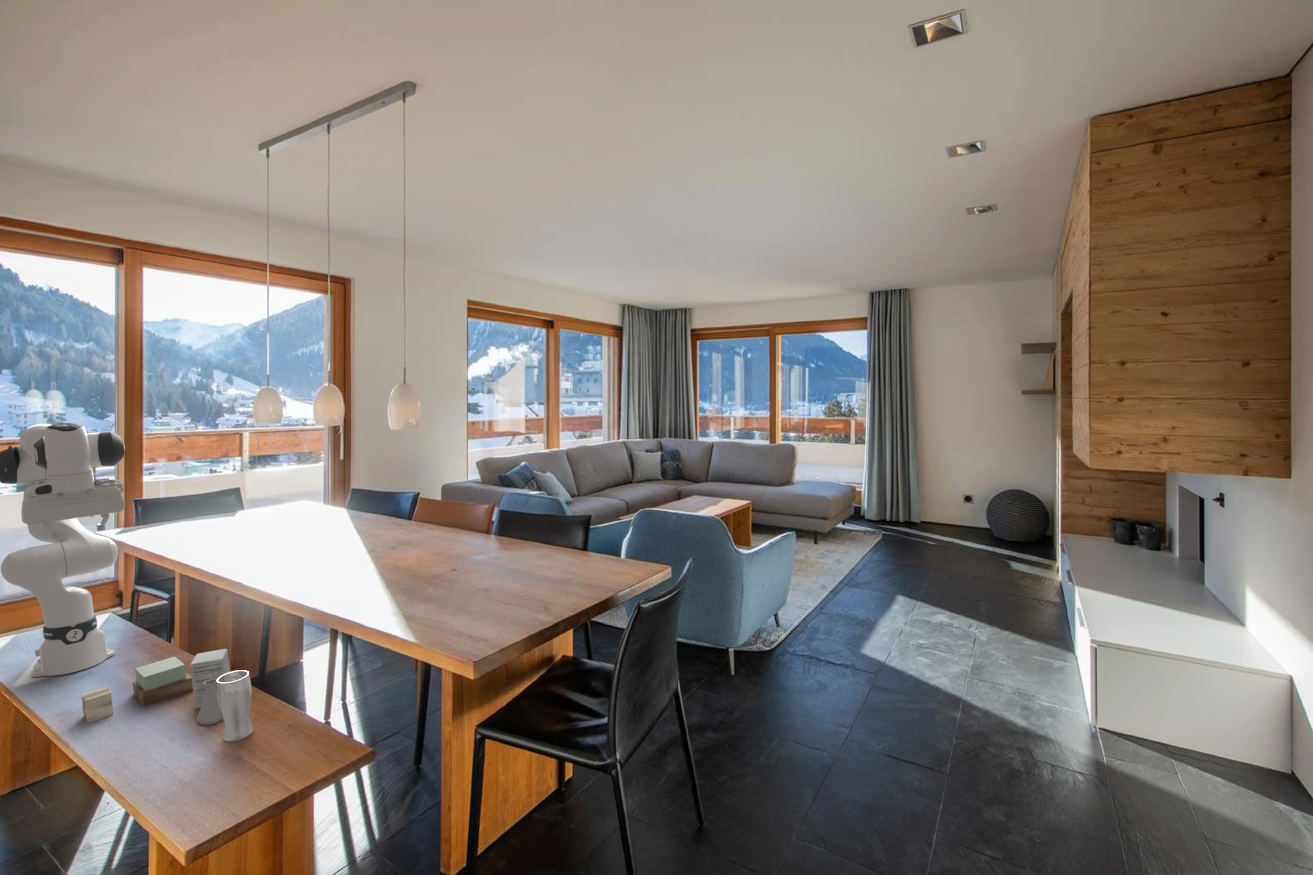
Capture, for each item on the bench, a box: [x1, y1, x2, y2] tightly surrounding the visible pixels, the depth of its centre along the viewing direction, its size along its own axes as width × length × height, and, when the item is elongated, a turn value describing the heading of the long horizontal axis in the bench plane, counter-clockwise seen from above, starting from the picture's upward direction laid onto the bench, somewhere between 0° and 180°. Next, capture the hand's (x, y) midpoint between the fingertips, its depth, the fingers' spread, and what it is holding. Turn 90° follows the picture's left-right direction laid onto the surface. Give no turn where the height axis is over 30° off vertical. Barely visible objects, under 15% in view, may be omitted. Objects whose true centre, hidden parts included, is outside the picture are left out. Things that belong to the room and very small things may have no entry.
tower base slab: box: [132, 670, 193, 707], centre depth 172 cm, size 11×11×4 cm
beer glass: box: [217, 669, 254, 743], centre depth 149 cm, size 7×7×15 cm
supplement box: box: [189, 648, 231, 710], centre depth 167 cm, size 7×7×13 cm
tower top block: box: [134, 656, 187, 691], centre depth 171 cm, size 9×9×4 cm
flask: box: [195, 678, 223, 726], centre depth 158 cm, size 7×7×10 cm
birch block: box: [81, 686, 114, 723], centre depth 160 cm, size 5×5×6 cm
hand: (78, 534), depth 166 cm, fingers open, 8 cm apart
